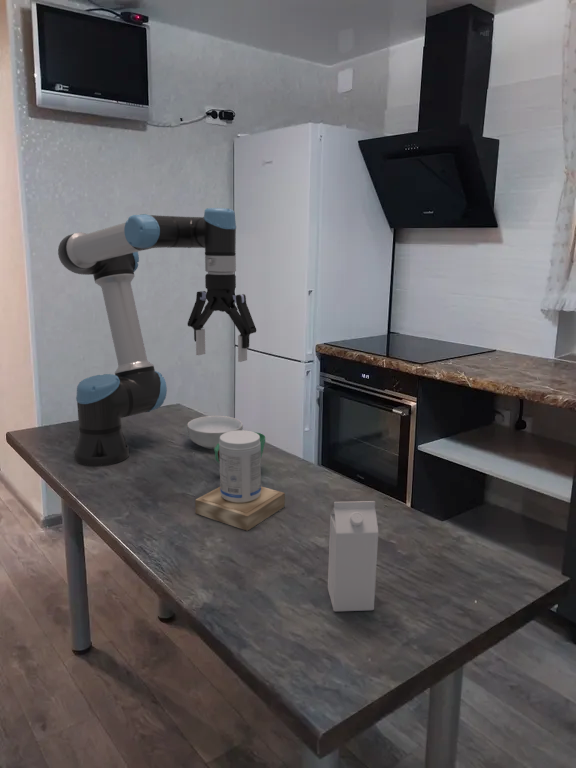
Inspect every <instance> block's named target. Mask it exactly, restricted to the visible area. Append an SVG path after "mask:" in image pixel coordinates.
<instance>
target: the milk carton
mask: <svg viewBox="0 0 576 768" xmlns="http://www.w3.org/2000/svg"><path fill="white" fill-rule="evenodd" d="M376 512H377V511H376V501H375V500H369V501H368V500H367V501H366V500H364V501H360V500H359V501H334V502H333V509H332V510H331V512H330V515H329V516H330V518H329V520H330V521H329V545H328V546H329V547H328V565H327V566H328V567H327V568H328V574H327V591H328V594H329V599H330V603H331V606H332V611H333V612H354V611H355V612H357V611H360V612H361V611H362V612H363V611H373V610H375V597H376V596H375V595H376V582H377V581H376V580H377V579H376V578H377V562H378V544H379V527H378V525H379V524H378V519H377V513H376Z"/></svg>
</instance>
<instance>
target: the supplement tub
mask: <svg viewBox="0 0 576 768" xmlns="http://www.w3.org/2000/svg"><path fill="white" fill-rule="evenodd" d="M255 432H256V431H251V430H244V429H242V430H238V431H230V432H226V433H224V434H222V435H221V436H220V442H219V457H220V463H219V484H220V485H219V487H220V491H221V496H222V497H223V498H224V499H225V500H227V501H230V502H235V503H244V502H250V501H252V500H255V499H257V498H258V497H259V496H260V494H261V486H262V466H261V465H262V462H261V460H262V457H261V444H260V436H259V435H258V434H257V433H258V432H257V433H255Z"/></svg>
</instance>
